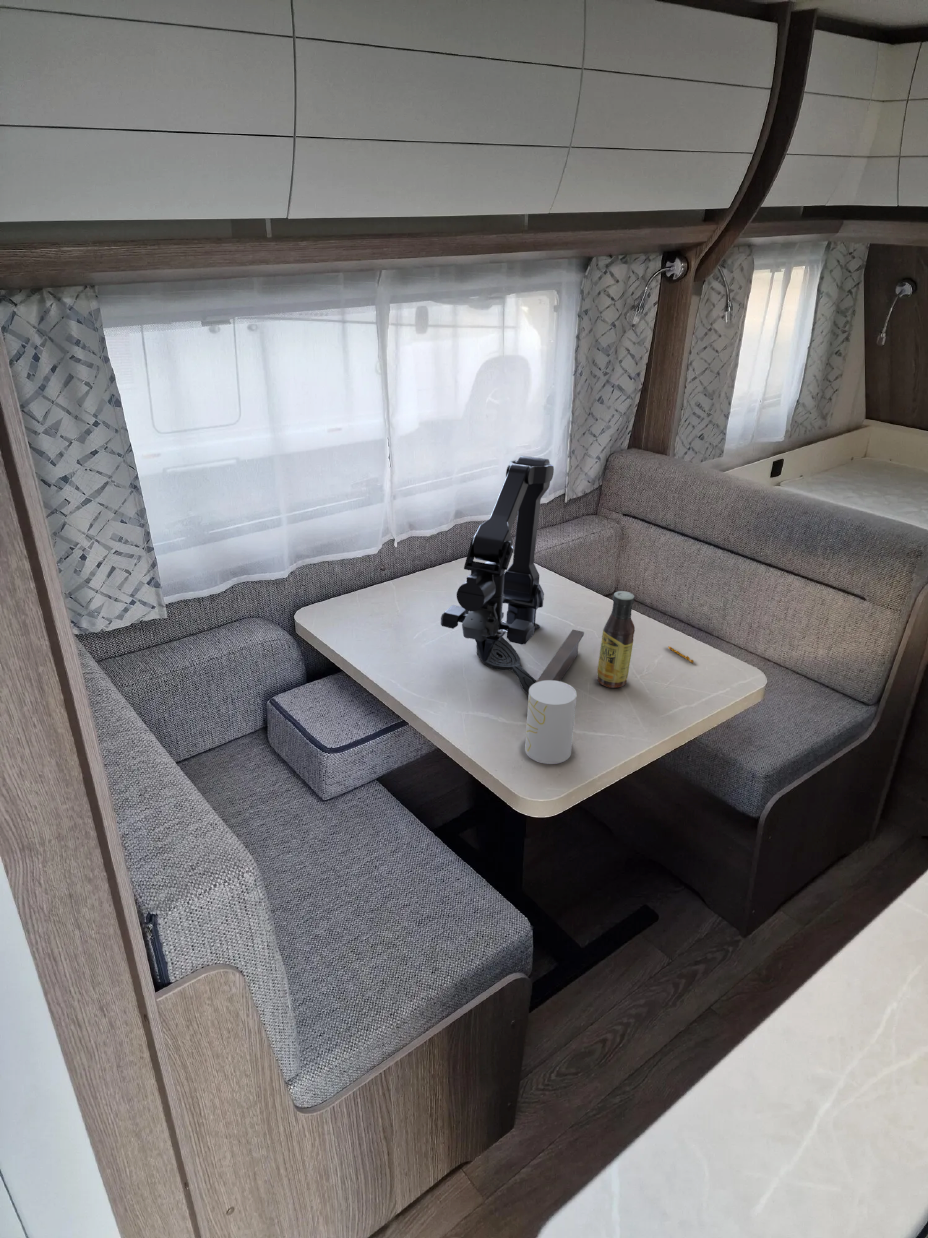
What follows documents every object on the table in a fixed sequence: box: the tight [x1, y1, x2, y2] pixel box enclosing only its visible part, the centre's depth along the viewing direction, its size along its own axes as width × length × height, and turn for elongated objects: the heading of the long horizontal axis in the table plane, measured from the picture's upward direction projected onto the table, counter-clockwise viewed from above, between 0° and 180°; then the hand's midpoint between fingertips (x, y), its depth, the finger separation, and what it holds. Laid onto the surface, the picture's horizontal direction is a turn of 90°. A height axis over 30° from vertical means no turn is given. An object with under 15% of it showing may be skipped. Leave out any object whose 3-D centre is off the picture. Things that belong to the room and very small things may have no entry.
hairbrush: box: [475, 636, 537, 697], centre depth 170 cm, size 8×4×25 cm
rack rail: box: [536, 629, 585, 683], centre depth 165 cm, size 28×3×6 cm, turn 157°
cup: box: [524, 680, 578, 765], centre depth 142 cm, size 8×8×12 cm
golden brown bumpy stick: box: [667, 646, 694, 664], centre depth 178 cm, size 8×1×1 cm, turn 29°
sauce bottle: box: [596, 590, 636, 689], centre depth 163 cm, size 6×6×20 cm
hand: (485, 660), depth 171 cm, fingers closed
